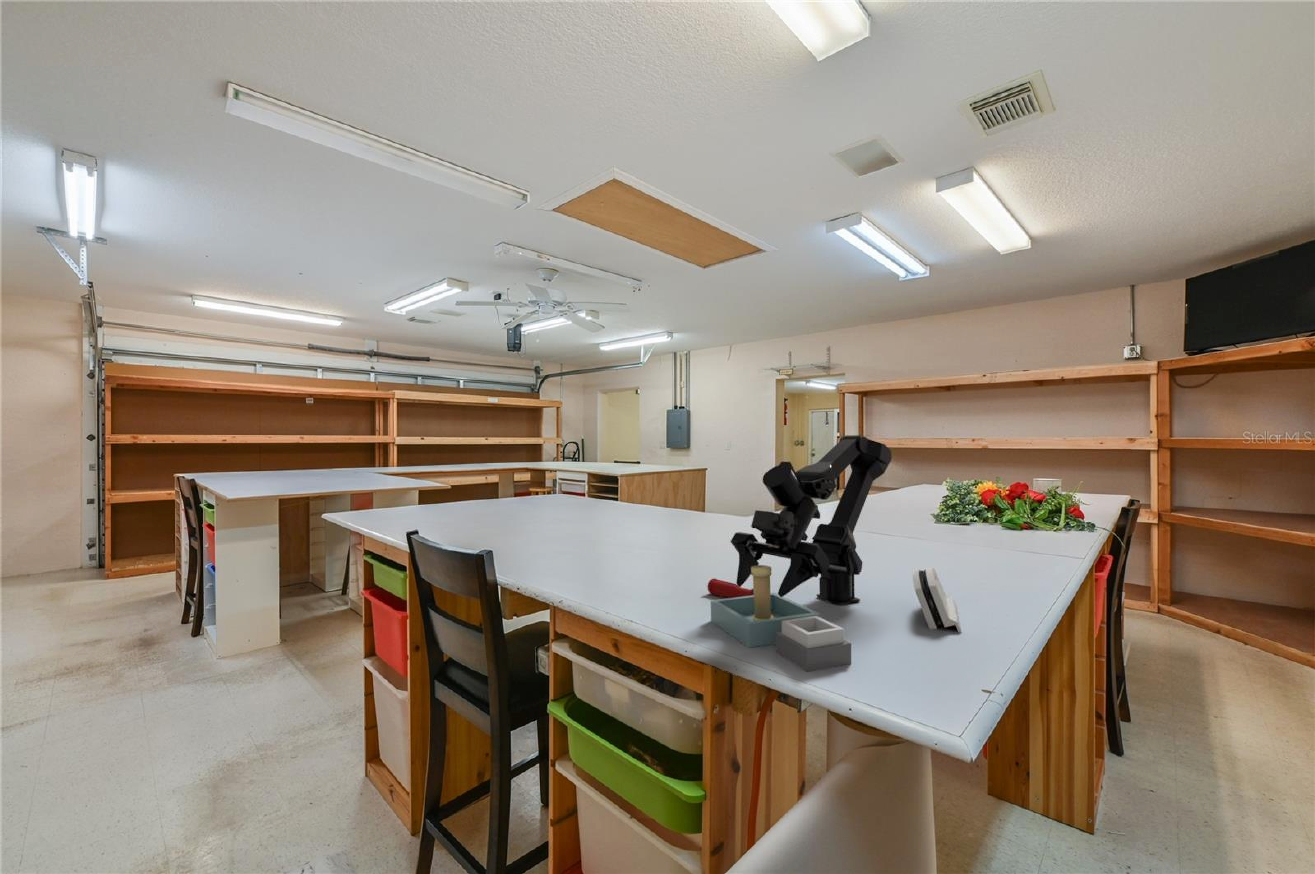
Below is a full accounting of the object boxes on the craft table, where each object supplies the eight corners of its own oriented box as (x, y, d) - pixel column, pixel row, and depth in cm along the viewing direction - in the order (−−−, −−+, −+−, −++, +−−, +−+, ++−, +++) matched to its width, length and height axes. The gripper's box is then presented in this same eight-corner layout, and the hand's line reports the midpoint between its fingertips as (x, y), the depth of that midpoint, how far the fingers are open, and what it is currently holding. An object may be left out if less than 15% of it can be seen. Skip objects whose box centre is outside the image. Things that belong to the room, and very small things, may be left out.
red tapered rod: (805, 622, 97) (805, 603, 97) (706, 595, 115) (705, 579, 115) (816, 618, 99) (815, 599, 99) (716, 592, 118) (716, 576, 118)
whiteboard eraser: (962, 633, 90) (939, 577, 92) (933, 638, 92) (911, 583, 94) (956, 606, 105) (936, 558, 107) (932, 611, 107) (913, 564, 109)
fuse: (771, 619, 95) (769, 565, 95) (775, 626, 92) (773, 569, 92) (751, 620, 95) (749, 565, 96) (754, 627, 92) (752, 570, 92)
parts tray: (774, 612, 103) (774, 592, 103) (820, 635, 89) (820, 613, 90) (711, 620, 98) (710, 600, 98) (749, 647, 85) (749, 624, 85)
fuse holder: (817, 644, 86) (816, 614, 86) (851, 663, 78) (850, 629, 78) (775, 651, 83) (775, 620, 83) (807, 671, 75) (806, 637, 75)
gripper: (736, 491, 104) (698, 554, 96) (819, 497, 90) (782, 572, 82) (761, 526, 109) (726, 589, 101) (844, 538, 95) (811, 612, 87)
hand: (758, 590), depth 93 cm, fingers open, 9 cm apart
